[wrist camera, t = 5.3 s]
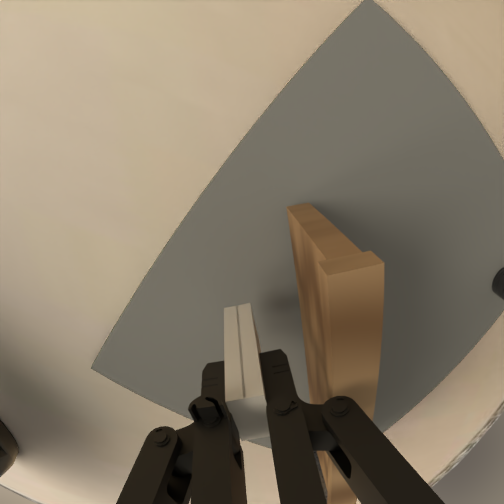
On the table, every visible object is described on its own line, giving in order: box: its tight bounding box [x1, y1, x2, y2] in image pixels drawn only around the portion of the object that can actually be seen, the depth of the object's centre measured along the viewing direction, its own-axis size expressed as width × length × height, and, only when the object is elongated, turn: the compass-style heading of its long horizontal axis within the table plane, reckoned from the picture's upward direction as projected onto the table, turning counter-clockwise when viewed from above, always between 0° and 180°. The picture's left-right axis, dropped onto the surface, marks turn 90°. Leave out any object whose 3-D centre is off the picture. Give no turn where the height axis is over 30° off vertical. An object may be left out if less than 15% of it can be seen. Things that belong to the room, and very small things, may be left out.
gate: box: [286, 203, 384, 504], centre depth 16 cm, size 20×2×8 cm, turn 10°
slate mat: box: [91, 0, 504, 449], centre depth 20 cm, size 30×26×1 cm
